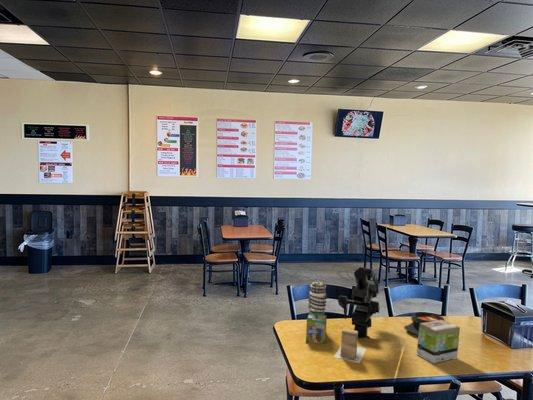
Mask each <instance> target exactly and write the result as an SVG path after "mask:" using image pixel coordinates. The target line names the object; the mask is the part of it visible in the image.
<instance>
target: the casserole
mask: <svg viewBox="0 0 533 400" xmlns="http://www.w3.org/2000/svg"><path fill="white" fill-rule="evenodd" d="M410 319H411V321H412V322H411V323H410V324H407V325H405V326H404V330H406V331H407V332H409V333H412V334H414V335H416V336H418V335H419V325H420V323H425V322H432V321H438V320H444V321H446V320H445V318H444V317H443V316H441V315H440V314H439V315H438V314H436V313H432V312H427V311H426V312H425V311H418V312H414V313H413V314H412V315H411V318H410Z"/></svg>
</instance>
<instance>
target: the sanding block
mask: <svg viewBox="0 0 533 400" xmlns="http://www.w3.org/2000/svg"><path fill="white" fill-rule="evenodd" d="M358 339H359V338H358V331H355V330H354V329H348V328H345V327H344V328H343V329H342V331H341V341H340V342H341V343H340V347H341V357H345V358H349V359H354V360H355V358H356V355H357V347H358Z"/></svg>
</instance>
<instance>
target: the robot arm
mask: <svg viewBox="0 0 533 400" xmlns="http://www.w3.org/2000/svg"><path fill="white" fill-rule="evenodd" d="M353 276H354V282H355V284H356V285H355V288H352V293H351V298H352V300H351V299H348V296H346V295H339V296H338V298H337V303H338V306H340V307H341V308H342V309H343V315H344V316H343V317H344V320H346V319H347V315H348V308H349V307H348V306H349V305H352V306H355V309H354V310H353V311H352V313H351V325H352V326H354V328H353V330H355V331H358V338H357V339H360V338H364V339H365V338H367V339H370V335H369V336H368V329H370V328H371V327H372V316H373V315H374V314H378V313H380V308H381V307H380V302H379V301H377V300H373V299H375V298H377V297H378V295H379V294H380V290H381V288H380V282H379V280H378V279H377V274H376V273H374V271H373V269H372V268H369V267H362V266H360V267H358V268H357V269H356V270H355V271H354V273H353ZM369 281H370V282H369ZM371 282H373V283H371Z"/></svg>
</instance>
